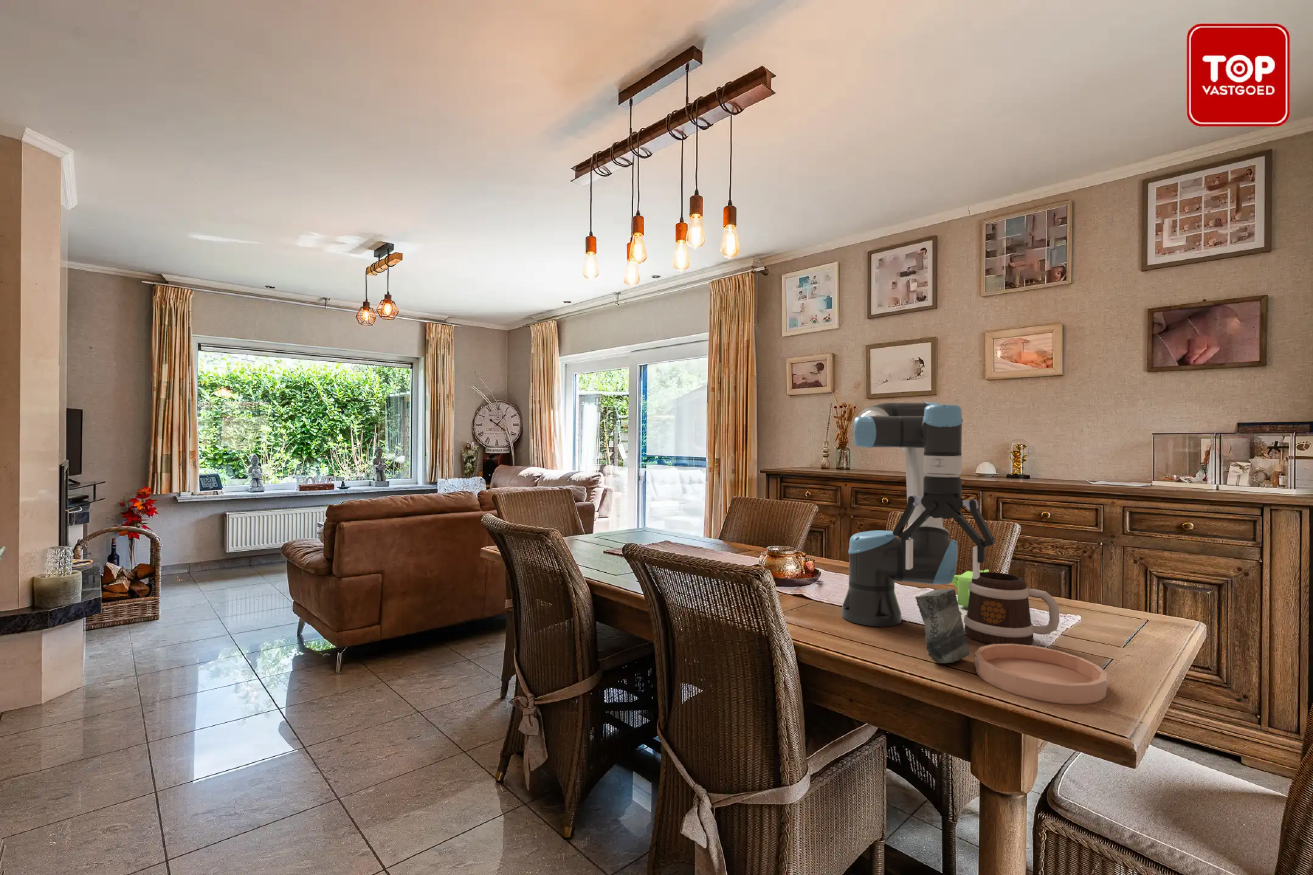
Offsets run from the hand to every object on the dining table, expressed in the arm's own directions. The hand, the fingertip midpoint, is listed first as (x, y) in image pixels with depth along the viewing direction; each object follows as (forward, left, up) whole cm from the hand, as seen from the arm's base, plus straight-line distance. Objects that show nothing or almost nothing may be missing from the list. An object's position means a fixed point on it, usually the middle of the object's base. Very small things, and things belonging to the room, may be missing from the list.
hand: (941, 573), depth 131 cm
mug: (+9, +25, -19) cm, 33 cm away
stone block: (0, 0, -19) cm, 19 cm away
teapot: (-3, +51, -19) cm, 55 cm away
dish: (+18, +1, -19) cm, 26 cm away
